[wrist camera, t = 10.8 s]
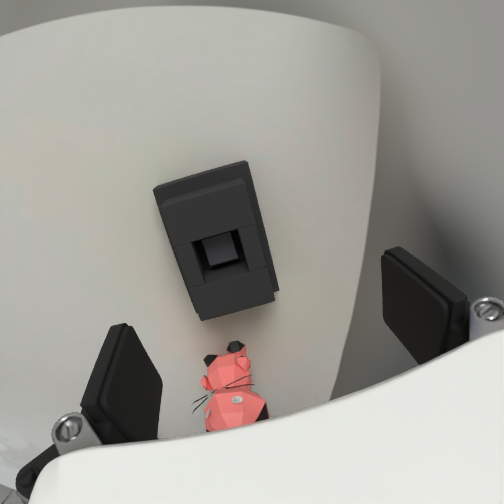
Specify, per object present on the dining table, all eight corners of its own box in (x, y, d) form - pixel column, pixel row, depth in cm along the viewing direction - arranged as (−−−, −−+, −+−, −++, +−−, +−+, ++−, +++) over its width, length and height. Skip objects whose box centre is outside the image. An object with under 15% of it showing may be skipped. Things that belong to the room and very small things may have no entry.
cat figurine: (238, 324, 32) (255, 410, 21) (271, 363, 34) (296, 445, 23) (184, 355, 32) (181, 442, 21) (221, 389, 35) (229, 472, 24)
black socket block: (165, 199, 25) (159, 207, 22) (241, 177, 25) (245, 182, 22) (201, 303, 28) (201, 321, 25) (268, 284, 28) (275, 300, 26)
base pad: (156, 186, 26) (149, 192, 23) (244, 160, 26) (250, 163, 23) (196, 303, 30) (196, 322, 27) (275, 281, 31) (283, 298, 27)
